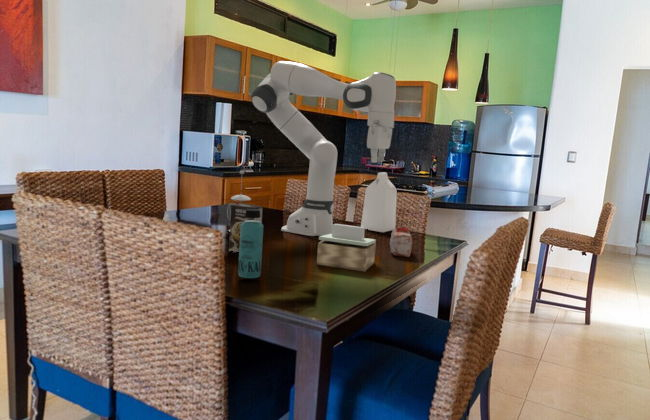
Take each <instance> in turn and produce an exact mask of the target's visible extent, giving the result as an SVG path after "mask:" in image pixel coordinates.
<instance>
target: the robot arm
mask: <svg viewBox="0 0 650 420" xmlns="http://www.w3.org/2000/svg"><path fill="white" fill-rule="evenodd" d="M293 95H297V96H303V97H312V98H313V97H315V98H316V97H317V98H318V97H319V98H332V99H336V100H340V101H343V104H344V105H345V107H347V108H348V109H350V110H353V111H357V112H363V113H366V114H367V126H368V130H367V137H366V148H367V149H370V156H371V160H370V161H371V163H373V164H374V163H378V162H380V163H381V162H384V160H385V159H384V158H385V154H386V149H387V150H389V149H390V147H391V142H392V136H393V129H395V108H394V107H395V103H396V97H397V82H396V78H395V77H394V76H393V75H391V74H389V73H385V72H380V71H375V72H373V73H372V74H371V75H368V77H366V78H364V79H360V80H358V81H353V82H350V83H345V82H344V81H343V82H342V81H339V80H336V79H335V78H332V77H331V76H328V75H326V74H325V73H323V72H321V71H319V70H317V69H316V68H314V67H311V66H309V65H306V64H304V63H300V62H295V61H286V60H285V61H284V60H279V61H277V62H275V63H274V64H273V66H271V69H270V73H268V74H267V75H266V76H265V77H264V78H263V80H262V81H261V82H260V83H259V84H258V85H257V86H256V87H255V88H254V89H253V91H252V92H251V94H250V101H251V103H252V105H253V107H254V108H255V109H256V110H257V111H259V112H261V113H262V114H263V113H264V114H266V116H267V118H268V119H269V120H270V121H271V123H273V124H274V126H275V127H276V128H277V129H278V130H279V131H280V132H281V134H283V135H284V136H285V137H286V138H288V140H289V141H290V142H291V143H292V144H293V145H295V147H296V148H298V149H299V151H300V152H301V153H303V155H305V157H307V159H309V165H308V166H309V168H308V174H307V175H308V176H307V185H306V186H307V188H306V198H304V199H302V200H301V201H300V204H302V205H301V207H300V208H299V209H297V210H296V211H294V212H292V213H291V214H290V215H289V216H288V219H287V221H286V225H284V226H282V227H281V229H280V231H281V232H286V233H293V234H297V235H298V234H299V235H301V236H302V235H303V236H308V237H309V236H310V237H315V236H316V237H317V236H318V237H319V236H323V235H327V234H332V229H333V213H334V207H335V206H334V205H335V204H334V203H335V202H334V200H333V199H334V189H335V188H334V186H335V178H336V173H337V172H336V171H337V163H338V149H337V146H336V145H335V144H334V143H332V142H331V141H330V140H327V139H326V138H325V136H323V134H322V133H321V132H320V131H319V130H318V129H317V128H316V127H315V126H314V124H313V123H312V122H311V121H310V120H308V119H307V118H306V117H305V115H304V114H302V113H301V111H300V110H298V109H297V108H296V106H294V105H293V104H292V103H291V102H290V99H289V97H290V96H293Z"/></svg>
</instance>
